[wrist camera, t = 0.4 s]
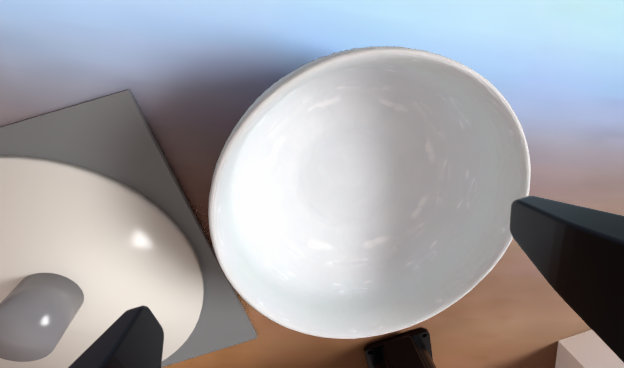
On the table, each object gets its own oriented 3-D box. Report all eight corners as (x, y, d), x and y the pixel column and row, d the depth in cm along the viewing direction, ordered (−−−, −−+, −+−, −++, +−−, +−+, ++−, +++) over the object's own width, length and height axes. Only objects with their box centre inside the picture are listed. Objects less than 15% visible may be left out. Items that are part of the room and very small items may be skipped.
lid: (242, 334, 27) (239, 383, 24) (17, 402, 27) (-23, 464, 23) (118, 112, 18) (80, 136, 14) (-225, 214, 18) (-356, 265, 14)
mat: (257, 334, 28) (257, 338, 28) (16, 407, 28) (13, 412, 28) (129, 89, 18) (126, 90, 18) (-252, 201, 18) (-262, 204, 17)
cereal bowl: (500, 158, 24) (586, 205, 18) (345, 294, 28) (369, 373, 21) (347, -31, 17) (398, -64, 11) (170, 184, 21) (132, 252, 15)
